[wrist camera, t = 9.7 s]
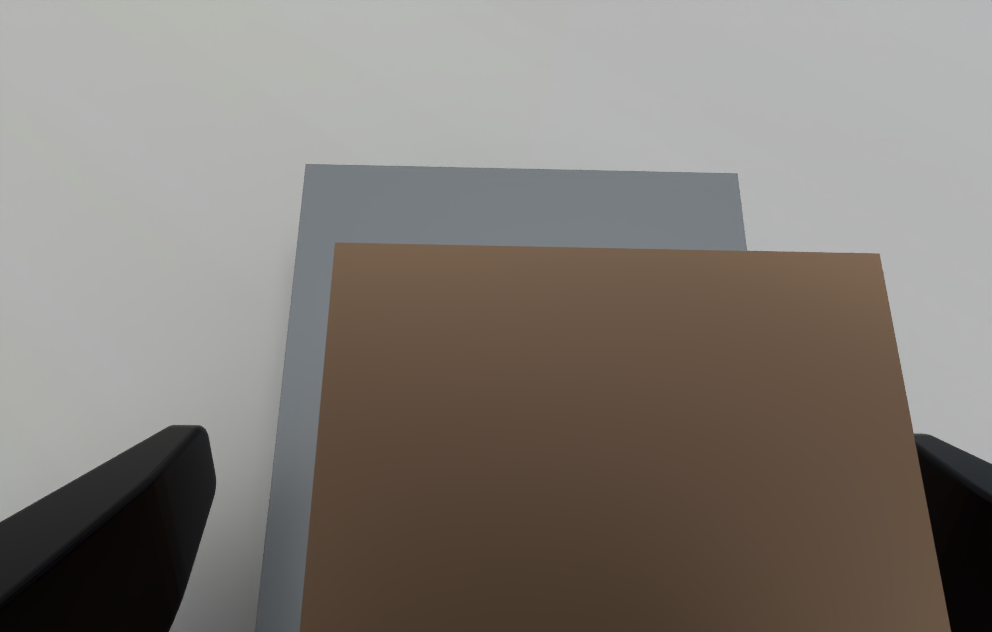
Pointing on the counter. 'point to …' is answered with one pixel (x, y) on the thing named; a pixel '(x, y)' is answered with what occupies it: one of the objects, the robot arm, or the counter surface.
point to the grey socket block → (449, 221)
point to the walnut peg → (614, 445)
